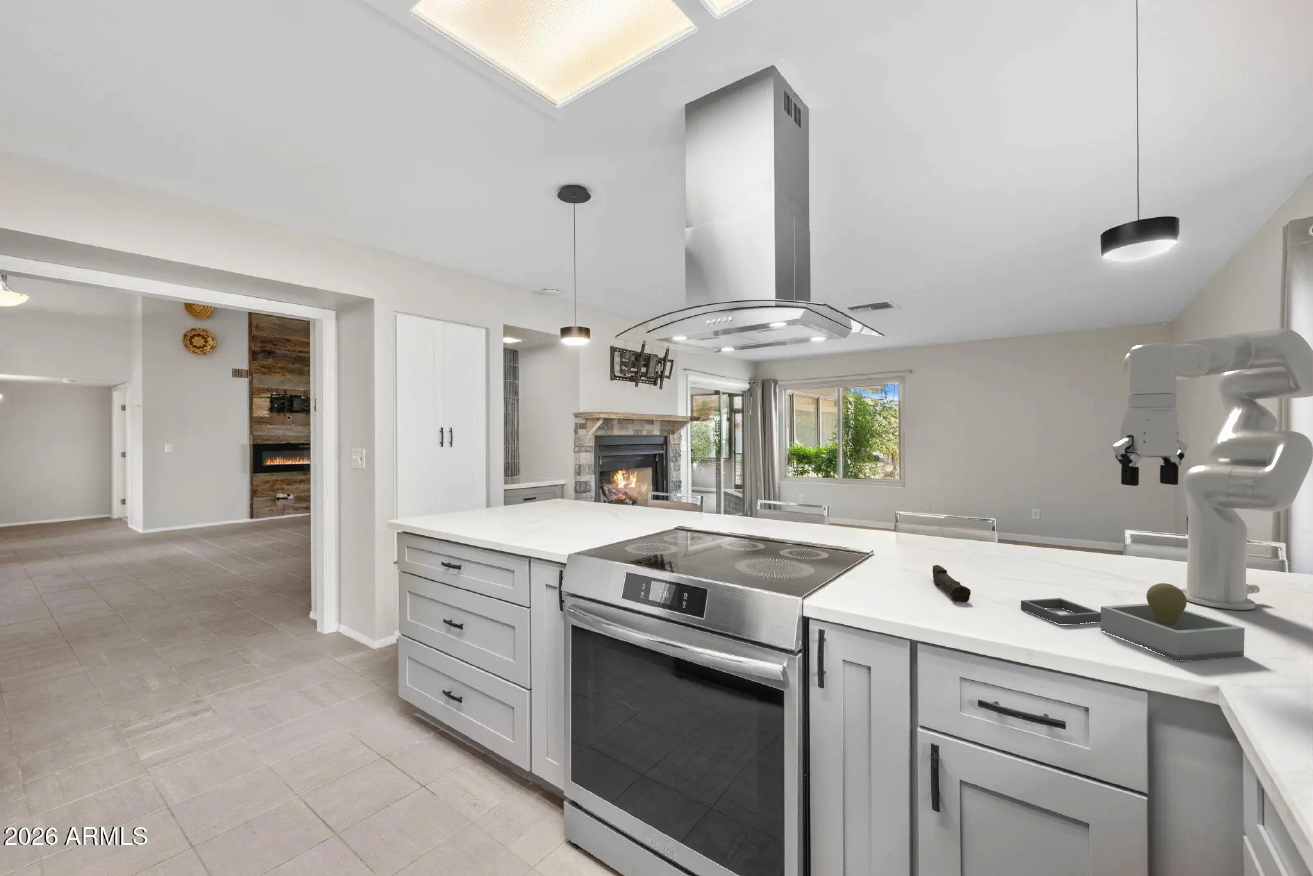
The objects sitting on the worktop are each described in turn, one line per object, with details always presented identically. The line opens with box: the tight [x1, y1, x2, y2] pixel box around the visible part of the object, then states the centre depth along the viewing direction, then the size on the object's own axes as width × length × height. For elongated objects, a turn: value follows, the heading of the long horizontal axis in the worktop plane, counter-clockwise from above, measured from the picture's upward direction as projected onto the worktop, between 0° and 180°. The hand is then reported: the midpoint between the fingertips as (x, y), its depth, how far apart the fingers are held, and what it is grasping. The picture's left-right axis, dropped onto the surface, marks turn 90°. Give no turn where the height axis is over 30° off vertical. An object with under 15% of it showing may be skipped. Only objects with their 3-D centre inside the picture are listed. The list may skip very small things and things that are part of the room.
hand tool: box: [932, 564, 972, 603], centre depth 136 cm, size 19×4×5 cm, turn 168°
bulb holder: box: [1020, 597, 1101, 625], centre depth 118 cm, size 10×10×2 cm
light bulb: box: [1146, 582, 1188, 630], centre depth 104 cm, size 6×6×10 cm
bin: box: [1100, 602, 1245, 662], centre depth 103 cm, size 14×14×5 cm
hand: (1149, 484), depth 116 cm, fingers open, 9 cm apart
